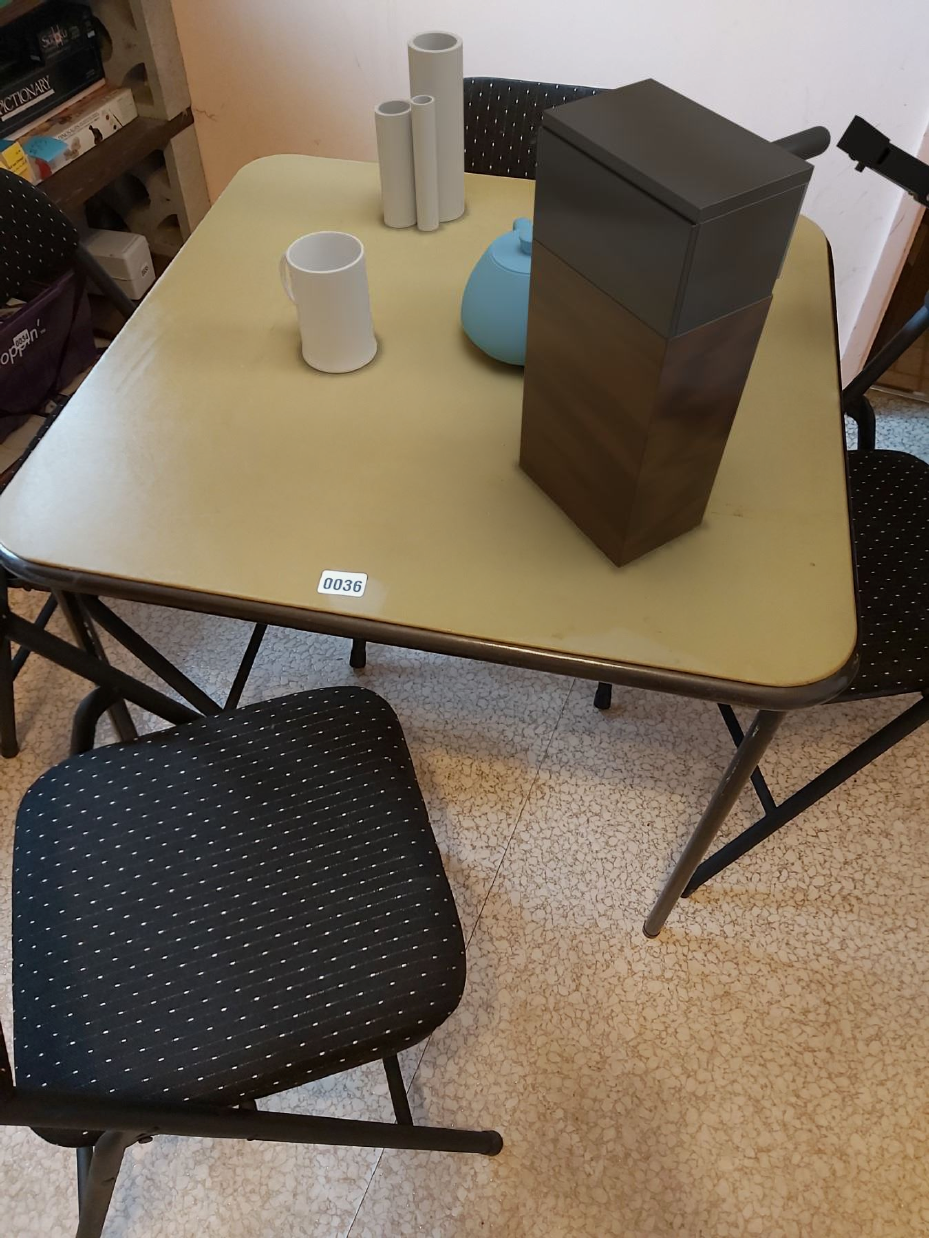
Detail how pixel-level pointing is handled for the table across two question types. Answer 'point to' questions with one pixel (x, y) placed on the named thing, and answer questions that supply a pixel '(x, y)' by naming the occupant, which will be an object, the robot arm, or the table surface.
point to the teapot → (501, 296)
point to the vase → (424, 137)
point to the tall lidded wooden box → (646, 305)
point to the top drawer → (804, 157)
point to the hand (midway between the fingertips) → (909, 162)
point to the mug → (331, 300)
